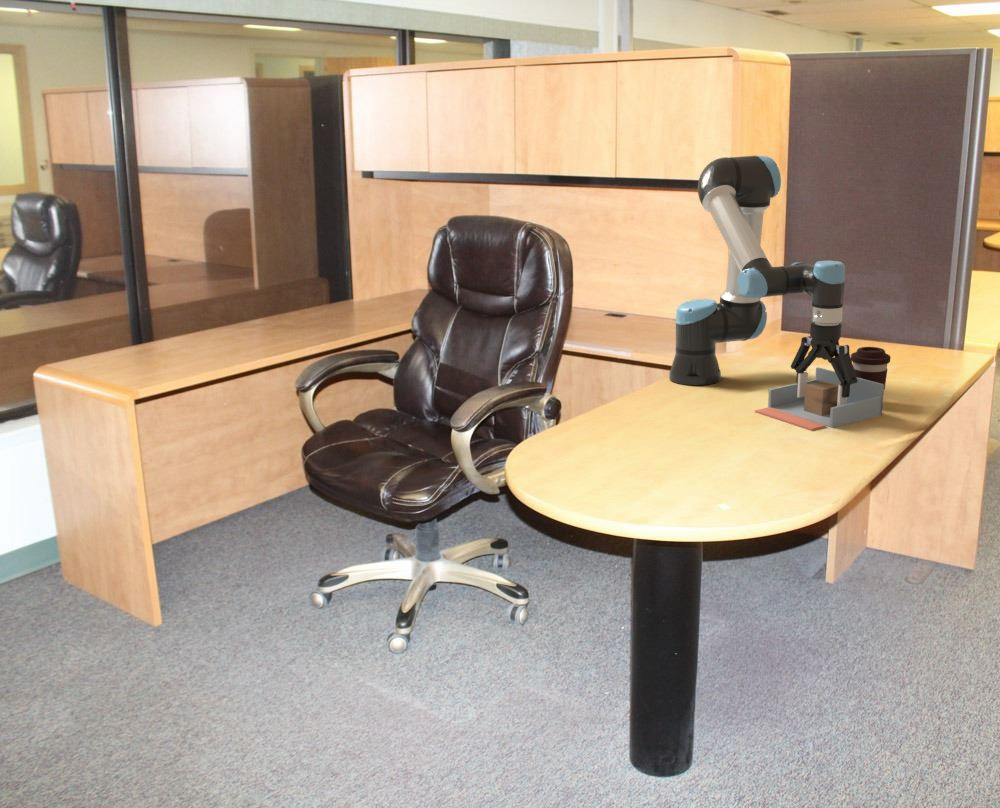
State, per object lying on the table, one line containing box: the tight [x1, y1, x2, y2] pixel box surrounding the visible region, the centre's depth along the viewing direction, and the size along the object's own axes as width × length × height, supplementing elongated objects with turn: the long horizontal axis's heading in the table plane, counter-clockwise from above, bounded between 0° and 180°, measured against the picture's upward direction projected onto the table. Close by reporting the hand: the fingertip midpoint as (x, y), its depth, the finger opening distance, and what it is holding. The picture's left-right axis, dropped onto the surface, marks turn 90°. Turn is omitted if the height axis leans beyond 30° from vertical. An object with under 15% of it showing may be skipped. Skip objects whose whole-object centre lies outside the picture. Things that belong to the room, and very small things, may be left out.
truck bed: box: [767, 366, 885, 429], centre depth 264 cm, size 22×18×9 cm
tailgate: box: [754, 406, 827, 432], centre depth 260 cm, size 20×1×5 cm
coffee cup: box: [850, 346, 891, 390], centre depth 272 cm, size 10×10×15 cm
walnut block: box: [804, 381, 838, 416], centre depth 264 cm, size 6×6×7 cm
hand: (821, 402), depth 264 cm, fingers open, 13 cm apart
